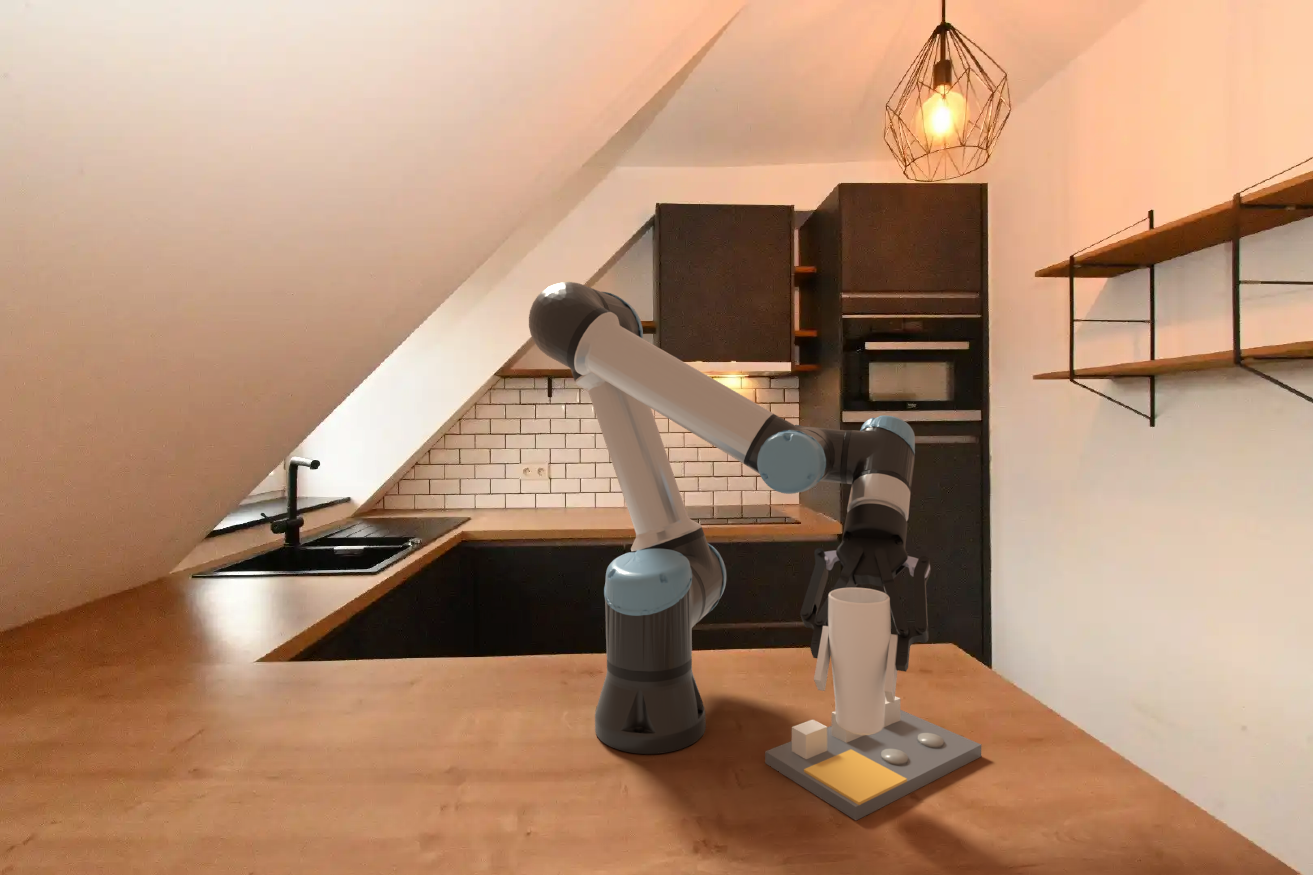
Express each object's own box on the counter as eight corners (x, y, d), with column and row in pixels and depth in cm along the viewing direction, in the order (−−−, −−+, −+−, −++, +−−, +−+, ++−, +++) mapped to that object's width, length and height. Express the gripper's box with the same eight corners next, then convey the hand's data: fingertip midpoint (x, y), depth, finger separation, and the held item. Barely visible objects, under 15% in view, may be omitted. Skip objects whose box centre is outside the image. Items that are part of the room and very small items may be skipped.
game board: (765, 763, 83) (765, 727, 83) (887, 714, 96) (887, 683, 96) (855, 820, 72) (855, 778, 71) (981, 756, 84) (981, 720, 84)
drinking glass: (883, 746, 72) (882, 607, 72) (821, 731, 76) (819, 598, 75) (897, 720, 78) (896, 591, 77) (839, 707, 82) (838, 584, 81)
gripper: (961, 540, 85) (953, 721, 72) (806, 530, 94) (773, 690, 80) (959, 503, 80) (950, 691, 67) (795, 497, 89) (758, 661, 75)
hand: (853, 690), depth 74 cm, fingers closed on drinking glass, 7 cm apart
